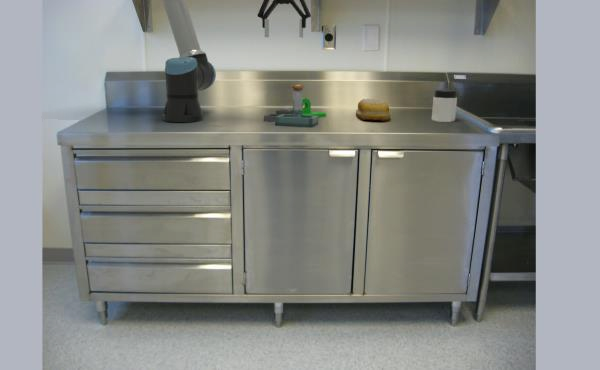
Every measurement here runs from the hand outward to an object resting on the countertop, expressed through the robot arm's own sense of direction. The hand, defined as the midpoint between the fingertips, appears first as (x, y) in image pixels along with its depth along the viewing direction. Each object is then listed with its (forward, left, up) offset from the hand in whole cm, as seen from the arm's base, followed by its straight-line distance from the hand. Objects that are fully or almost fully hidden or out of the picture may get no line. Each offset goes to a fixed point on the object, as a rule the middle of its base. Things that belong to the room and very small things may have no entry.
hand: (283, 37), depth 189 cm
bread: (+33, +14, -31) cm, 48 cm away
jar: (+61, +15, -31) cm, 70 cm away
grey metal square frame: (-1, -7, -31) cm, 32 cm away
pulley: (0, +5, -31) cm, 31 cm away
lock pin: (+10, -16, -30) cm, 35 cm away
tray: (+10, -16, -31) cm, 36 cm away
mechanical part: (+10, +7, -31) cm, 34 cm away
